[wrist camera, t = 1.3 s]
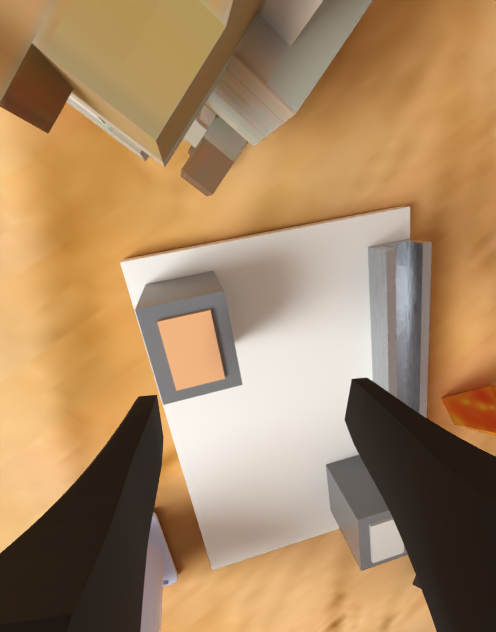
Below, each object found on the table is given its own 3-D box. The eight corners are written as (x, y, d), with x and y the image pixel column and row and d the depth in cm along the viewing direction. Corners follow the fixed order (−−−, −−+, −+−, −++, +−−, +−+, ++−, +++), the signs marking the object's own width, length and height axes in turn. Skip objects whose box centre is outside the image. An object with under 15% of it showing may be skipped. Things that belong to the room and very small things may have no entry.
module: (166, 360, 21) (163, 407, 16) (145, 284, 19) (134, 311, 14) (228, 346, 21) (243, 386, 16) (213, 270, 20) (224, 291, 15)
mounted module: (330, 510, 28) (362, 573, 23) (325, 464, 26) (359, 523, 21) (373, 496, 28) (413, 555, 24) (371, 450, 27) (414, 504, 22)
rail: (377, 499, 29) (391, 520, 27) (367, 247, 21) (386, 251, 19) (408, 489, 29) (424, 508, 27) (410, 238, 22) (432, 241, 20)
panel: (210, 556, 28) (212, 570, 27) (123, 259, 20) (120, 262, 18) (399, 495, 31) (408, 506, 30) (398, 206, 22) (410, 206, 21)
